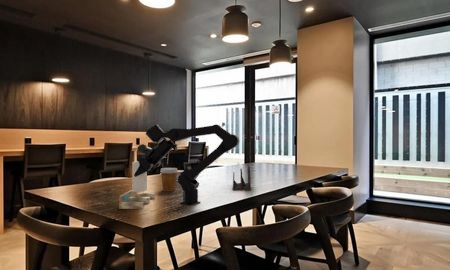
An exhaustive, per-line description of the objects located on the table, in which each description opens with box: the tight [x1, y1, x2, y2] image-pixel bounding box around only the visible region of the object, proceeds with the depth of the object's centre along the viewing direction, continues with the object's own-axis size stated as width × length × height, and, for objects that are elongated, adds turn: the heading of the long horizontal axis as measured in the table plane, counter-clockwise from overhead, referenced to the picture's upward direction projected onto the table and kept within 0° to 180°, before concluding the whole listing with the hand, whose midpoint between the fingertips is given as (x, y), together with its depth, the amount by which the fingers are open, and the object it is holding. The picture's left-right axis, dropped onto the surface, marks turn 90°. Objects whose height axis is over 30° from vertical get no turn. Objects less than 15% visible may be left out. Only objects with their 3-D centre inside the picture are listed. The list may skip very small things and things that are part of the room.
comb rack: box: [118, 189, 156, 210], centre depth 129 cm, size 10×21×5 cm, turn 0°
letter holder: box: [232, 163, 252, 192], centre depth 172 cm, size 10×20×14 cm, turn 178°
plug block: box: [131, 160, 148, 193], centre depth 131 cm, size 5×5×13 cm
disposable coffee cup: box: [159, 167, 179, 192], centre depth 161 cm, size 10×10×12 cm
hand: (136, 175), depth 131 cm, fingers closed on plug block, 5 cm apart
